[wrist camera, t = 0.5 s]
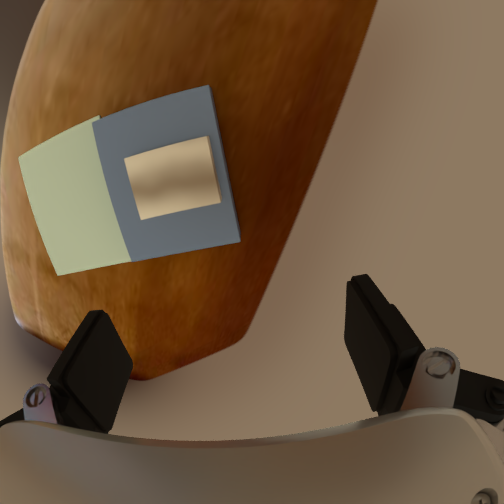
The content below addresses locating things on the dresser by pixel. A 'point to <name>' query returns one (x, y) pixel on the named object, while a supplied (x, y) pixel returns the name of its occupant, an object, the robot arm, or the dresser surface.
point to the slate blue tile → (156, 136)
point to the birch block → (174, 178)
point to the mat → (73, 201)
